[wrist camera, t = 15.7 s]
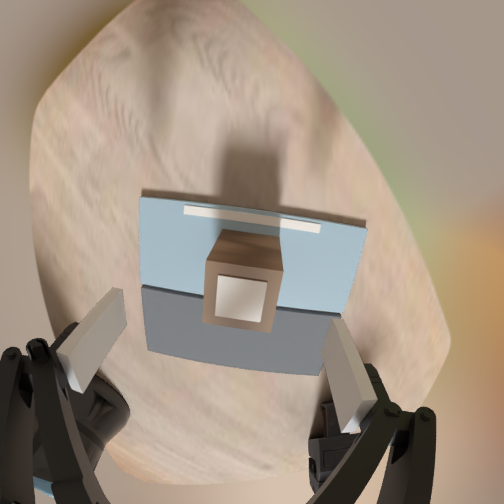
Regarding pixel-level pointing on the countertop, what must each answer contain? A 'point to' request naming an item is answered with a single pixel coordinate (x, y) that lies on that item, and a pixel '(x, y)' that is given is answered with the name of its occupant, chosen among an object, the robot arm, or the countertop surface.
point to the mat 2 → (234, 335)
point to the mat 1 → (253, 221)
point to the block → (243, 281)
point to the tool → (327, 447)
